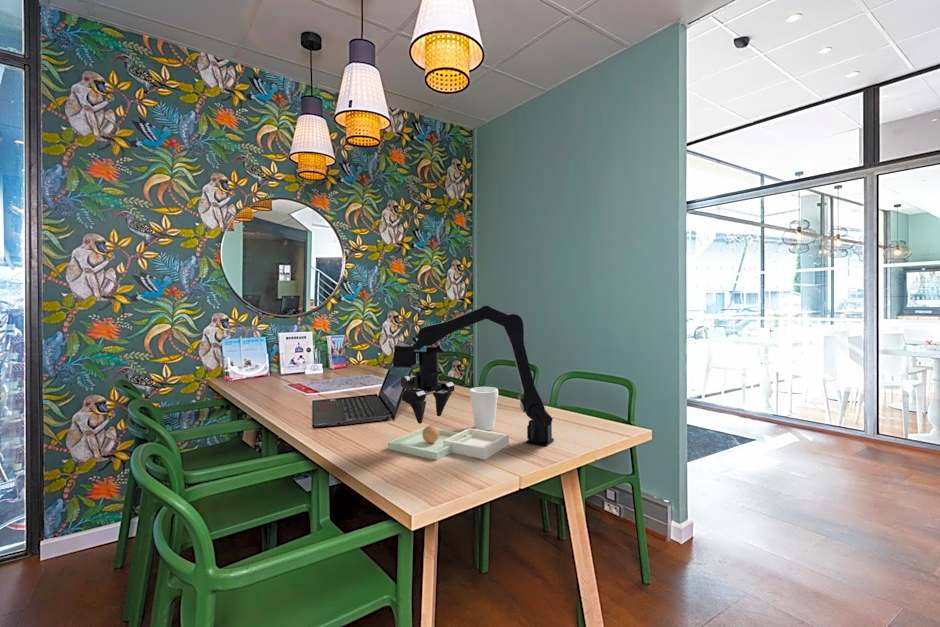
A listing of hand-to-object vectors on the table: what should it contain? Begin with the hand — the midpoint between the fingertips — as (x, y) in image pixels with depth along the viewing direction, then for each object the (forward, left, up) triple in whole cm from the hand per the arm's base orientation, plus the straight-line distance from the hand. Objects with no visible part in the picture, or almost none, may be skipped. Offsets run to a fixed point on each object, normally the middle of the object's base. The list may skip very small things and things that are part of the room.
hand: (429, 419), depth 135 cm
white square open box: (-13, -5, -8) cm, 16 cm away
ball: (0, 0, -4) cm, 4 cm away
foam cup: (-5, -23, -8) cm, 25 cm away
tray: (0, 0, -8) cm, 8 cm away
